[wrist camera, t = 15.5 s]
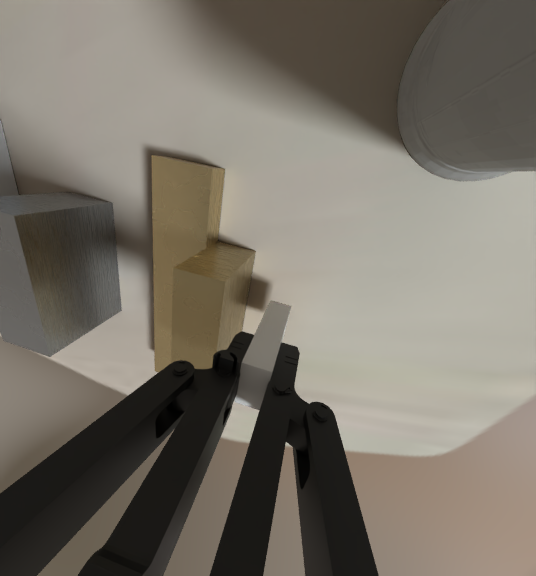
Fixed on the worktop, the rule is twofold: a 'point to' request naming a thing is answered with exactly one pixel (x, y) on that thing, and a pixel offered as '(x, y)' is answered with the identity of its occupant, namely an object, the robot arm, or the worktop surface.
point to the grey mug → (472, 91)
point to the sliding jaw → (194, 265)
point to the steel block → (56, 269)
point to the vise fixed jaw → (6, 169)
